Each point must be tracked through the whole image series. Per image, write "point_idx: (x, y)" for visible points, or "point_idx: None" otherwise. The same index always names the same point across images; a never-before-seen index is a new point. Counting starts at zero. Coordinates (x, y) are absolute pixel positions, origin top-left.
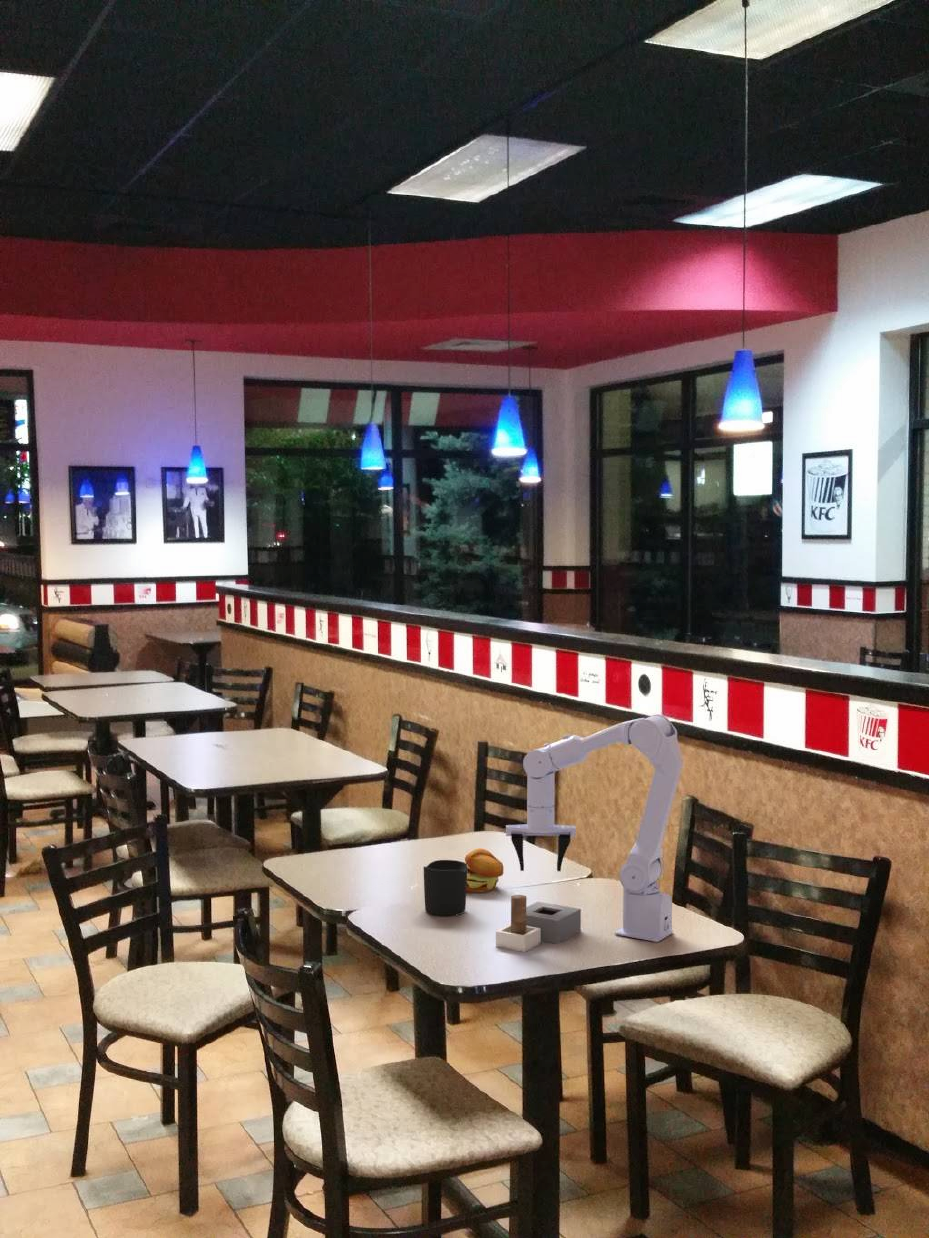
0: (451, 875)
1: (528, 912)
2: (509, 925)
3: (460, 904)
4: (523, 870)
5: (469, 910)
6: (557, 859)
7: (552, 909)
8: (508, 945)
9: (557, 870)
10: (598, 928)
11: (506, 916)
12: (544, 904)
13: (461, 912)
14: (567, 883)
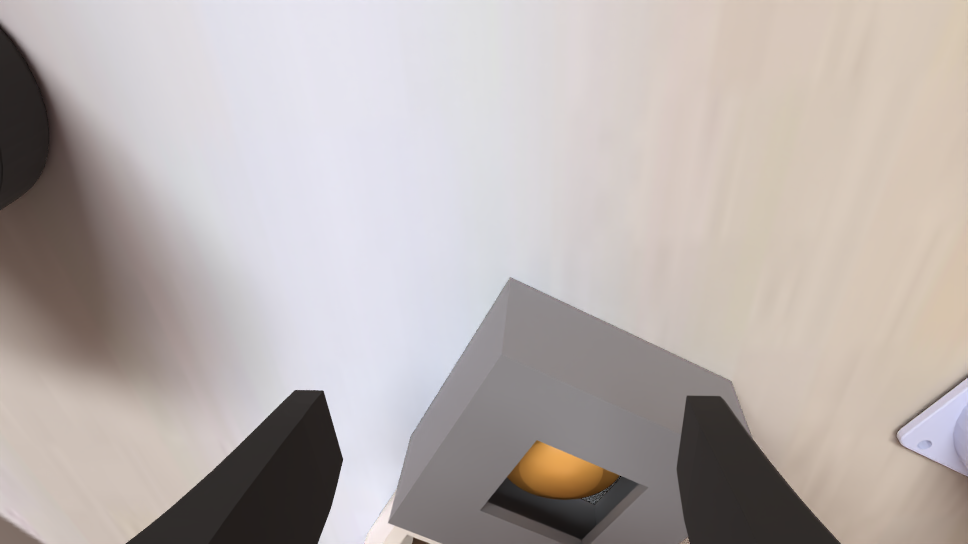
0: None
1: (461, 517)
2: (390, 541)
3: (9, 187)
4: (339, 464)
5: (57, 56)
6: (717, 479)
7: (592, 457)
8: None
9: (678, 478)
10: (841, 342)
11: (318, 166)
12: (546, 404)
13: (47, 151)
14: None
